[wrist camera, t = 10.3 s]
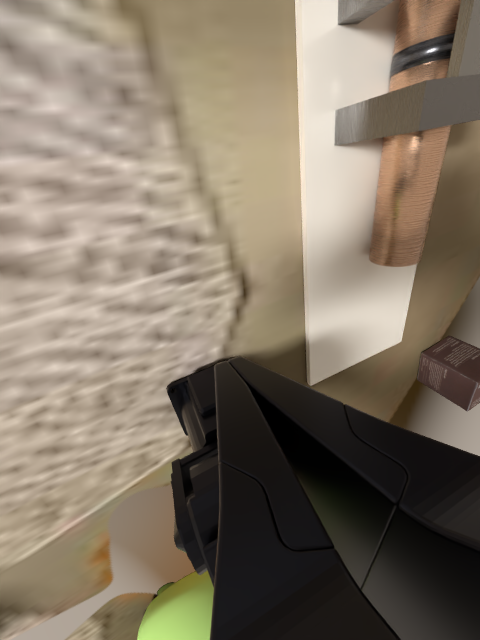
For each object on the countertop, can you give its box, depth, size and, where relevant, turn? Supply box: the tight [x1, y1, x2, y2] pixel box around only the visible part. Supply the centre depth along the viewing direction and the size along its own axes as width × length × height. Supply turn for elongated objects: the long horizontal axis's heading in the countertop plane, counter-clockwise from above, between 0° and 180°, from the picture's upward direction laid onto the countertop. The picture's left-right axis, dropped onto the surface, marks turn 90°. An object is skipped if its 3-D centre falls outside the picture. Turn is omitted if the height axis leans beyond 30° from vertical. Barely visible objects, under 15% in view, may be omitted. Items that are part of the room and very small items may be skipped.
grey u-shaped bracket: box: [334, 0, 480, 146], centre depth 15 cm, size 8×9×6 cm
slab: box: [295, 0, 417, 386], centre depth 23 cm, size 33×14×1 cm, turn 10°
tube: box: [369, 0, 461, 267], centre depth 18 cm, size 18×4×4 cm, turn 9°
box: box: [417, 336, 480, 411], centre depth 37 cm, size 6×6×7 cm
